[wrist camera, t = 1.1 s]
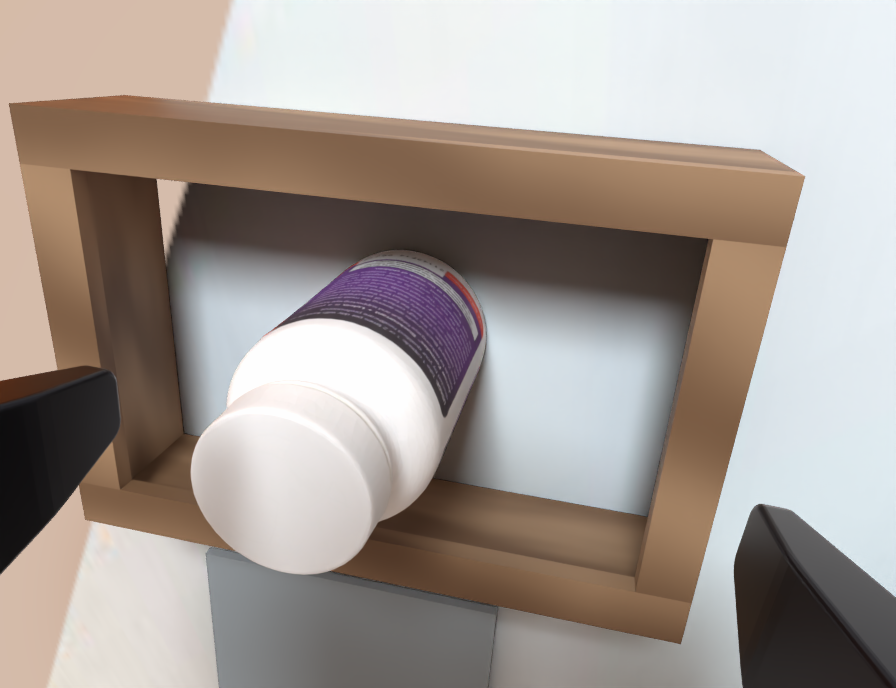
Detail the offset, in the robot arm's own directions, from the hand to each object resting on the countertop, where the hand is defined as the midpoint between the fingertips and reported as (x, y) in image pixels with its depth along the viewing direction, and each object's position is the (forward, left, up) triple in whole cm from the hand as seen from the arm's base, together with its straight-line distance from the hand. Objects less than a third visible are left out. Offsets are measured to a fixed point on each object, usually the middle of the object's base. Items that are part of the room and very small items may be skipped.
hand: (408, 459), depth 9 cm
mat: (-20, +5, -12) cm, 24 cm away
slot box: (-3, +3, -12) cm, 13 cm away
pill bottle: (-3, +3, -13) cm, 13 cm away
